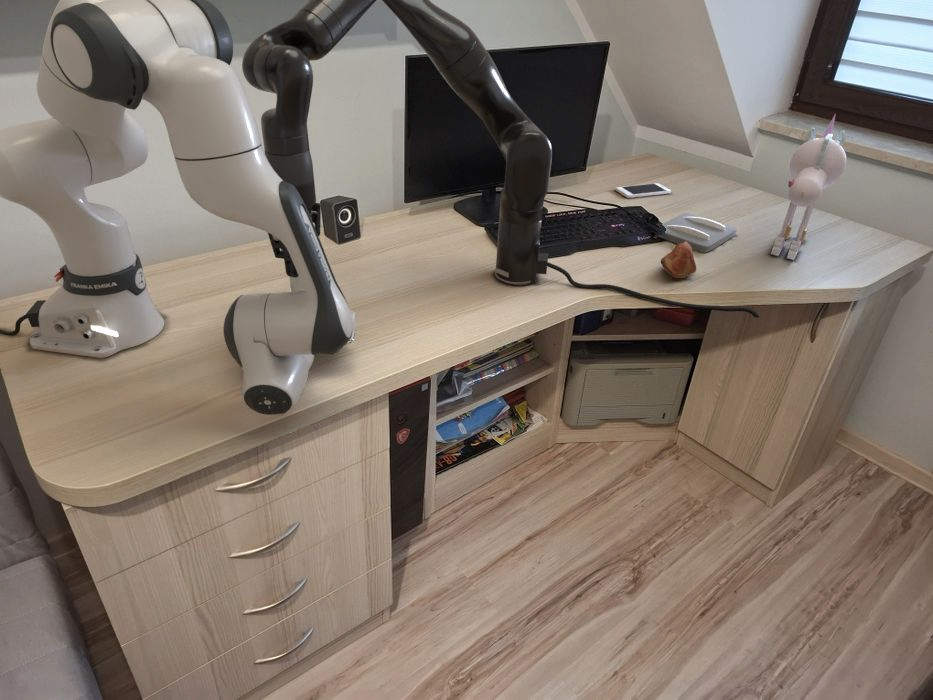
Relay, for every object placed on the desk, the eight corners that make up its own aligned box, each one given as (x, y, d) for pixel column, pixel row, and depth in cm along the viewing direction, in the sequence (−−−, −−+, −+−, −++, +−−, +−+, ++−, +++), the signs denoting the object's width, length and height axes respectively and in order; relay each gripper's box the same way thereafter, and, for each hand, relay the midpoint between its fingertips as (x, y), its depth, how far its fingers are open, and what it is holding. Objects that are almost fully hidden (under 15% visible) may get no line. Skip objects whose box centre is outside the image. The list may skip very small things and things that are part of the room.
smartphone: (614, 190, 195) (615, 187, 194) (657, 185, 199) (658, 182, 199) (627, 198, 189) (628, 195, 189) (671, 193, 194) (671, 190, 193)
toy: (826, 222, 178) (867, 110, 161) (806, 269, 152) (852, 142, 135) (779, 212, 183) (814, 103, 167) (751, 256, 157) (789, 132, 141)
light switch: (708, 241, 156) (653, 223, 165) (705, 253, 158) (650, 234, 167) (740, 223, 167) (687, 206, 176) (737, 234, 169) (684, 217, 178)
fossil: (669, 273, 140) (675, 228, 140) (641, 275, 147) (646, 232, 147) (707, 283, 147) (712, 240, 147) (678, 285, 154) (683, 244, 154)
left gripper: (351, 329, 106) (361, 290, 118) (227, 327, 106) (249, 287, 117) (353, 360, 110) (363, 319, 121) (233, 358, 109) (254, 317, 121)
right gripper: (292, 160, 111) (302, 249, 121) (245, 187, 100) (260, 283, 109) (331, 166, 109) (338, 256, 119) (288, 194, 98) (300, 291, 108)
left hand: (306, 303), depth 119 cm, fingers closed on jar, 4 cm apart
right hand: (301, 268), depth 114 cm, fingers closed on lid, 5 cm apart
